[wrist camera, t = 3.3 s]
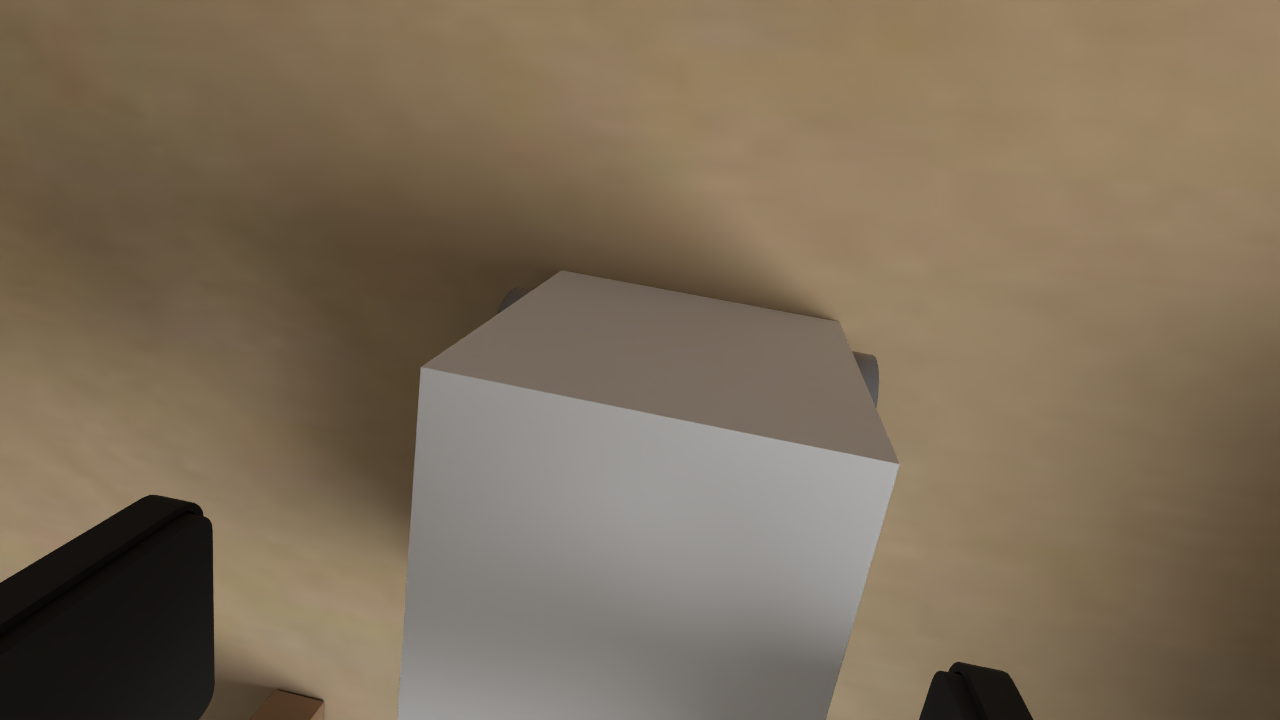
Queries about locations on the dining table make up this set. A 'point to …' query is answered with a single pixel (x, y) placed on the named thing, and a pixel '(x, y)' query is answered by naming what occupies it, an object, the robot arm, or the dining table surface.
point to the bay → (290, 708)
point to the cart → (639, 510)
